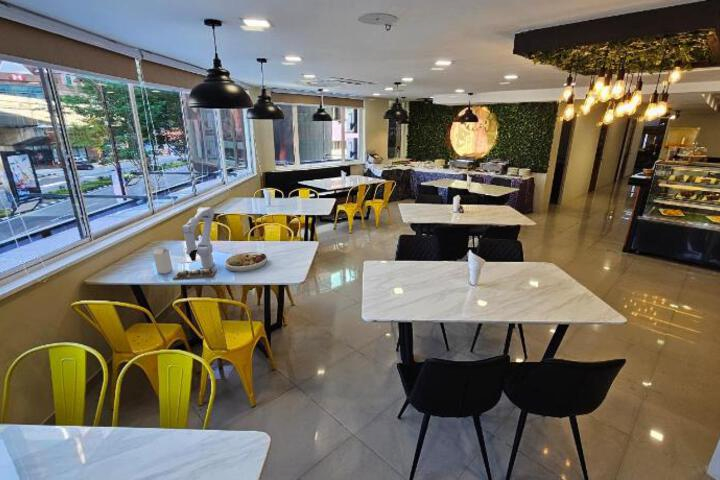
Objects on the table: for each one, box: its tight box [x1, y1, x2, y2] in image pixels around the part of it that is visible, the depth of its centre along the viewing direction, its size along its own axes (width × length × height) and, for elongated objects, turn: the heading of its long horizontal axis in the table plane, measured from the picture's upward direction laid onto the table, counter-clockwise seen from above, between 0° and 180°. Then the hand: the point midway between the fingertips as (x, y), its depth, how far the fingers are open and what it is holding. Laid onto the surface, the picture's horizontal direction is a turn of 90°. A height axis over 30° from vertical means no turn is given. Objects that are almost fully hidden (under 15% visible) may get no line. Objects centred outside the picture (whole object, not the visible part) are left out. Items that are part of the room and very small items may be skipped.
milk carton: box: [152, 246, 173, 274], centre depth 251 cm, size 7×7×19 cm
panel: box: [172, 268, 218, 281], centre depth 245 cm, size 11×26×3 cm, turn 96°
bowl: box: [224, 251, 268, 273], centre depth 260 cm, size 30×30×8 cm
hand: (193, 260), depth 244 cm, fingers closed
